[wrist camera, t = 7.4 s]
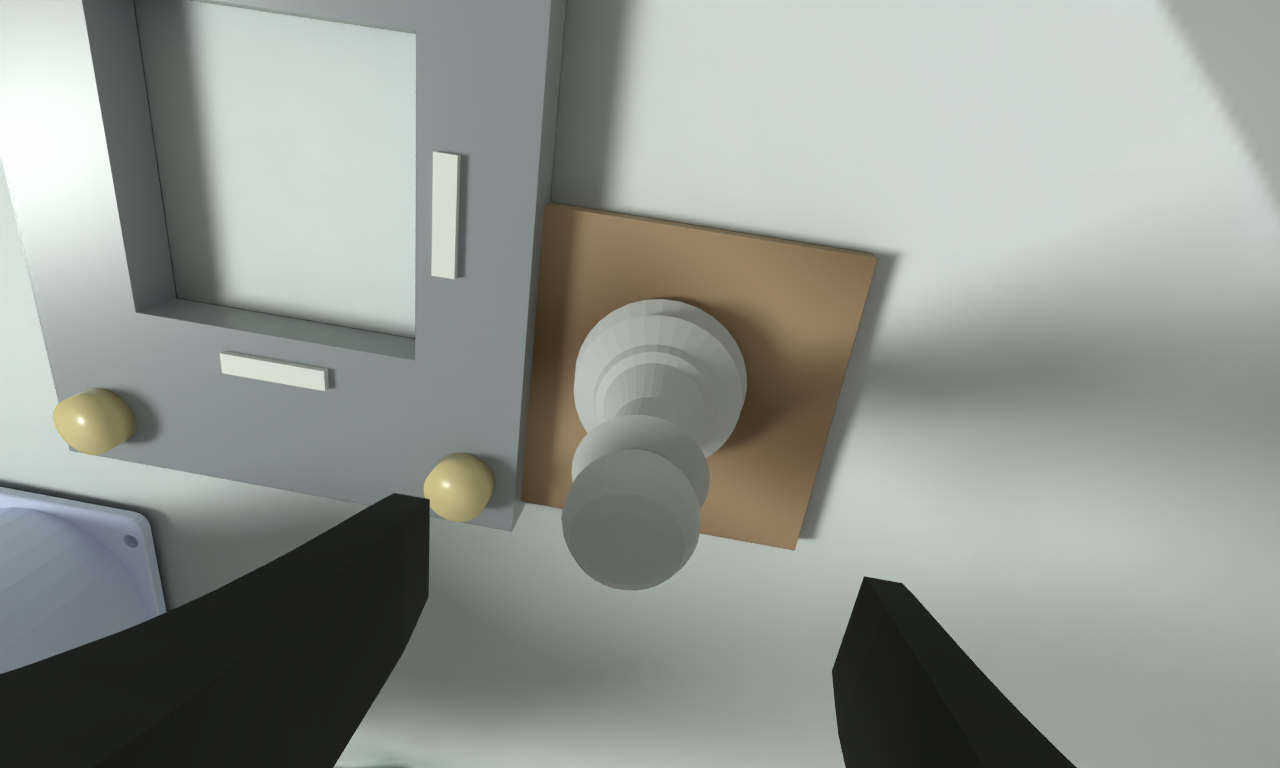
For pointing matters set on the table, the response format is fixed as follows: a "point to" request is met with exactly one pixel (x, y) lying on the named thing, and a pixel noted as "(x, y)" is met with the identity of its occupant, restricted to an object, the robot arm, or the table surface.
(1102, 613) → the table surface
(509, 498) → the cover plate
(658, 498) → the chess piece
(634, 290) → the walnut pad
